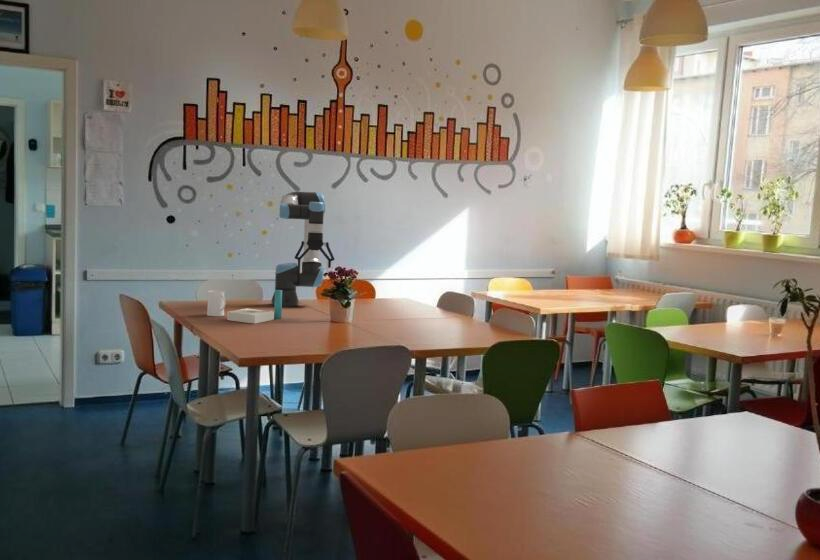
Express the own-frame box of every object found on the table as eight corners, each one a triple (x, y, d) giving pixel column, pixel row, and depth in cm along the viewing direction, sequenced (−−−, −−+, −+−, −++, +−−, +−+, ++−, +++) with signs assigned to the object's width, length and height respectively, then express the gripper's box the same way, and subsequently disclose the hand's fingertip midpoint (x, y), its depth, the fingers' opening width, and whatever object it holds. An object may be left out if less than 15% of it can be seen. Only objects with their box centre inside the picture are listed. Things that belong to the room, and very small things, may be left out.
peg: (272, 318, 403) (273, 290, 402) (276, 317, 407) (277, 289, 405) (278, 319, 402) (279, 291, 400) (282, 318, 405) (283, 290, 404)
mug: (231, 316, 402) (231, 292, 401) (215, 317, 396) (216, 293, 395) (218, 313, 410) (219, 289, 409) (203, 314, 405) (204, 290, 403)
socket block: (227, 320, 391) (227, 311, 391) (246, 316, 406) (247, 308, 405) (254, 323, 385) (254, 315, 384) (273, 319, 399) (273, 311, 399)
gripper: (290, 231, 409) (288, 273, 411) (339, 233, 410) (338, 275, 412) (291, 230, 416) (290, 271, 418) (340, 232, 417) (338, 273, 419)
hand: (314, 273), depth 415 cm, fingers open, 13 cm apart
